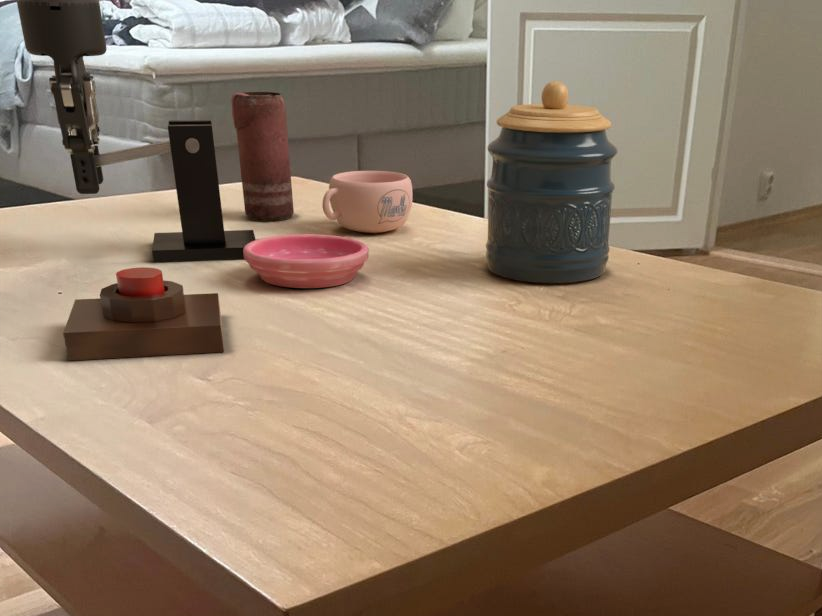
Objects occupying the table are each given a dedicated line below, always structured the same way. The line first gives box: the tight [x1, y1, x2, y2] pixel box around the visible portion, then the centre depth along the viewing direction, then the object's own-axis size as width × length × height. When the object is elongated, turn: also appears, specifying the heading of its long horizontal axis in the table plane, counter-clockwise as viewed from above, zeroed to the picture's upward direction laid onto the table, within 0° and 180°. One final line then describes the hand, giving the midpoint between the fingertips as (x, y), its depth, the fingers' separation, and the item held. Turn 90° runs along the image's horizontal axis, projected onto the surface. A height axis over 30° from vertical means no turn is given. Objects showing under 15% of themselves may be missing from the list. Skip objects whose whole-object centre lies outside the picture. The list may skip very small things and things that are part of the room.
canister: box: [485, 80, 618, 284], centre depth 102 cm, size 13×13×18 cm
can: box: [230, 91, 295, 222], centre depth 124 cm, size 6×6×14 cm
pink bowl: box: [243, 233, 369, 289], centre depth 101 cm, size 12×12×3 cm
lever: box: [94, 140, 171, 167], centre depth 105 cm, size 13×5×2 cm, turn 104°
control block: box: [62, 279, 225, 362], centre depth 83 cm, size 12×10×4 cm
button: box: [115, 266, 165, 297], centre depth 82 cm, size 4×4×2 cm
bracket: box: [151, 119, 257, 263], centre depth 108 cm, size 11×9×13 cm
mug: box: [321, 170, 414, 234], centre depth 120 cm, size 12×10×6 cm
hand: (90, 187), depth 106 cm, fingers closed on lever, 5 cm apart
